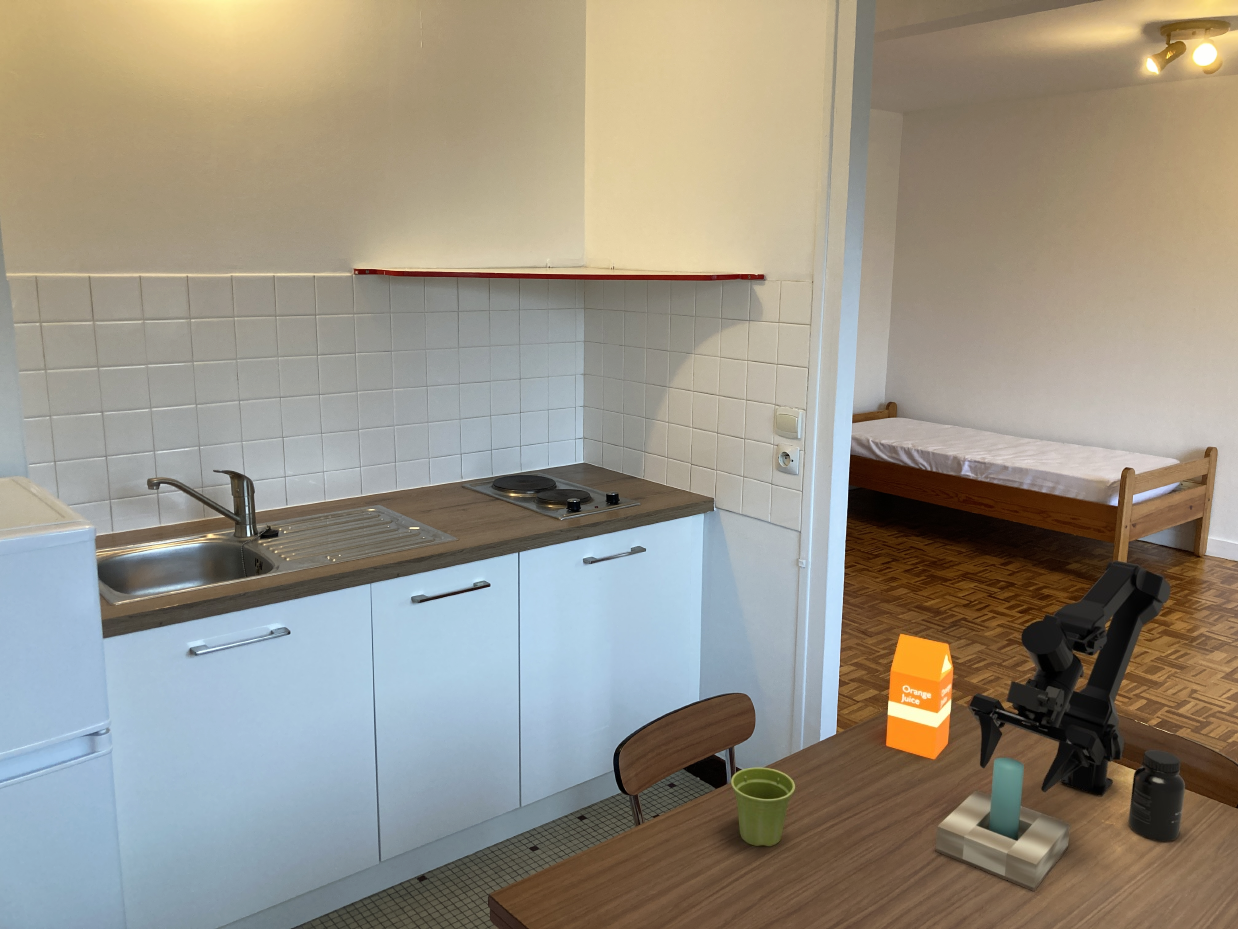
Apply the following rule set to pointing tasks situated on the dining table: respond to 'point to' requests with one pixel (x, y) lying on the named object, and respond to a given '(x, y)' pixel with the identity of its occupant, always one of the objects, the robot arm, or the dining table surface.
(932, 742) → the orange juice
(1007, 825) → the teal cylinder
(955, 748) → the dining table surface
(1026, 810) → the cream square wooden frame
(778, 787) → the plant pot
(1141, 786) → the supplement bottle
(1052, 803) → the dining table surface
